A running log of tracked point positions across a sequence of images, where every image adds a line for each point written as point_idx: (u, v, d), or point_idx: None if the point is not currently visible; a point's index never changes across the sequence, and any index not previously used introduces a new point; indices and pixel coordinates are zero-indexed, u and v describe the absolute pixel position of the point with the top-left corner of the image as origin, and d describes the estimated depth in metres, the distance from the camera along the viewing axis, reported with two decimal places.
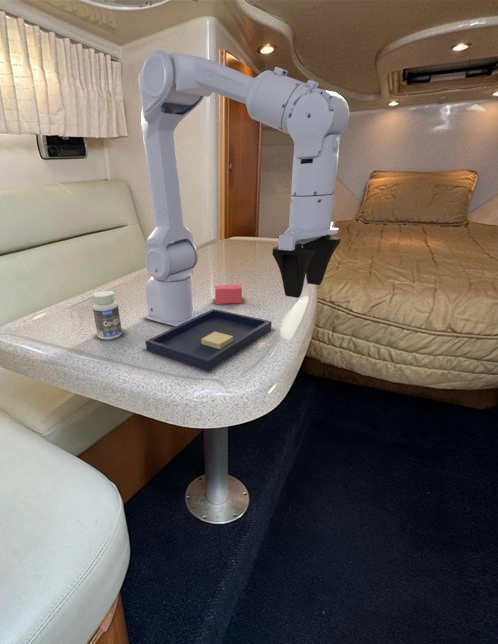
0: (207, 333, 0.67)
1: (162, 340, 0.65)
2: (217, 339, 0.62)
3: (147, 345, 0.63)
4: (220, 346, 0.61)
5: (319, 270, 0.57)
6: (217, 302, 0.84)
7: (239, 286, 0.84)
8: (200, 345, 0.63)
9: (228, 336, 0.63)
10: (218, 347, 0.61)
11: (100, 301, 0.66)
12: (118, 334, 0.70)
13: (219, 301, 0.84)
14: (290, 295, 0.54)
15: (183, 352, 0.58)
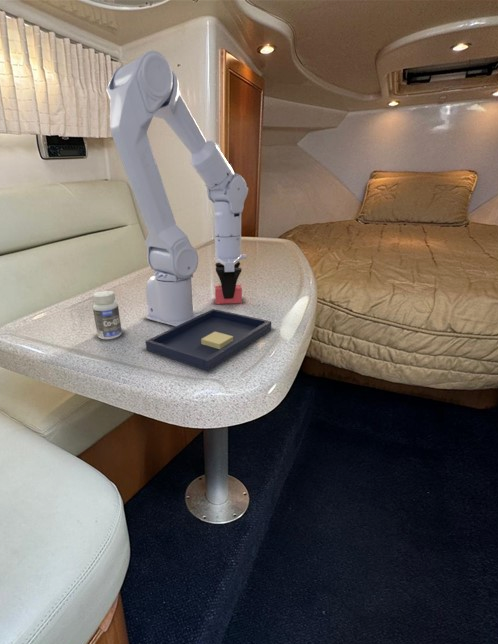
0: (207, 333, 0.67)
1: (162, 340, 0.65)
2: (217, 339, 0.62)
3: (147, 345, 0.63)
4: (220, 346, 0.61)
5: None
6: (217, 302, 0.84)
7: (239, 286, 0.84)
8: (200, 345, 0.63)
9: (228, 336, 0.63)
10: (218, 347, 0.61)
11: (100, 301, 0.66)
12: (118, 334, 0.70)
13: (219, 301, 0.84)
14: (228, 297, 0.83)
15: (183, 352, 0.58)
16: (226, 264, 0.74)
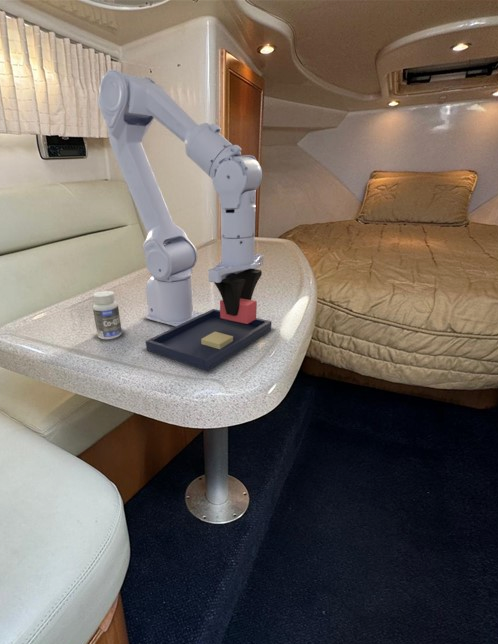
0: (207, 333, 0.67)
1: (162, 340, 0.65)
2: (217, 339, 0.62)
3: (147, 345, 0.63)
4: (220, 346, 0.61)
5: (246, 297, 0.67)
6: (221, 316, 0.69)
7: (250, 303, 0.65)
8: (200, 345, 0.63)
9: (228, 336, 0.63)
10: (218, 347, 0.61)
11: (100, 301, 0.66)
12: (118, 334, 0.70)
13: (223, 316, 0.68)
14: (230, 313, 0.66)
15: (183, 352, 0.58)
16: (210, 272, 0.59)
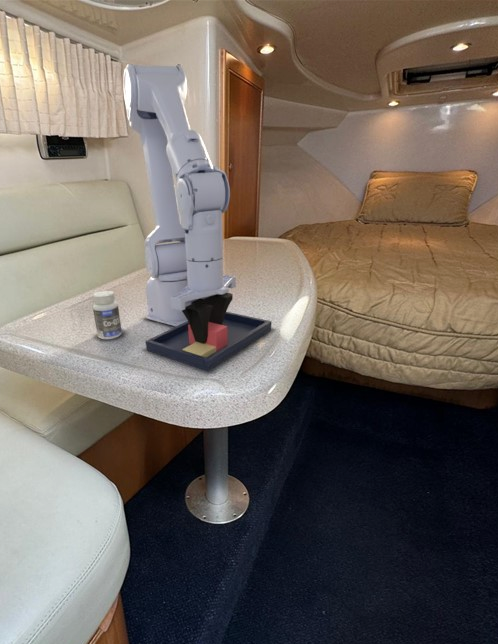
0: None
1: (162, 340, 0.65)
2: (198, 350, 0.59)
3: (147, 345, 0.63)
4: None
5: (216, 323, 0.62)
6: (190, 342, 0.63)
7: (219, 328, 0.60)
8: None
9: (211, 346, 0.60)
10: None
11: (100, 301, 0.66)
12: (118, 334, 0.70)
13: (192, 341, 0.63)
14: (198, 341, 0.61)
15: (183, 352, 0.58)
16: (172, 299, 0.54)
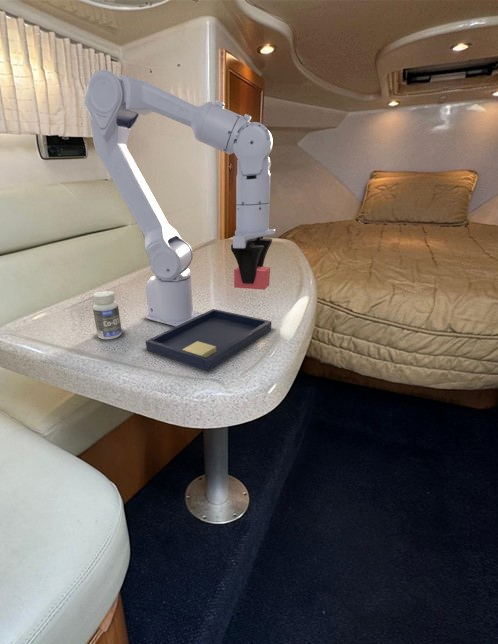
0: (207, 333, 0.67)
1: (162, 340, 0.65)
2: (198, 350, 0.59)
3: (147, 345, 0.63)
4: None
5: (258, 266, 0.69)
6: (236, 285, 0.69)
7: (265, 268, 0.67)
8: None
9: (211, 346, 0.60)
10: None
11: (100, 301, 0.66)
12: (118, 334, 0.70)
13: (238, 284, 0.69)
14: (246, 282, 0.68)
15: (183, 352, 0.58)
16: (235, 238, 0.60)
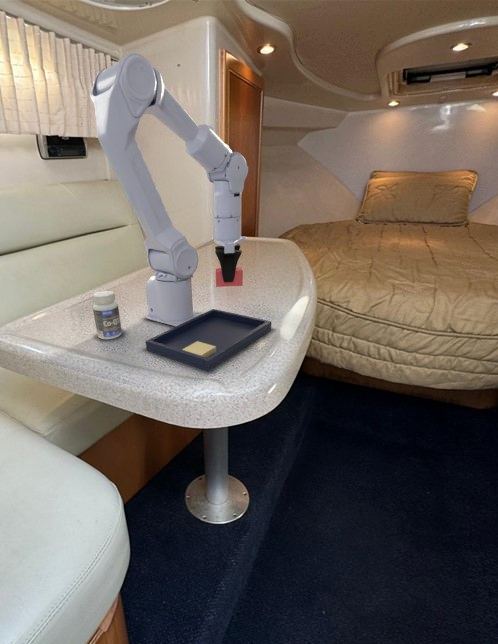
0: (207, 333, 0.67)
1: (162, 340, 0.65)
2: (198, 350, 0.59)
3: (147, 345, 0.63)
4: None
5: None
6: (217, 285, 0.82)
7: (240, 268, 0.82)
8: None
9: (211, 346, 0.60)
10: None
11: (100, 301, 0.66)
12: (118, 334, 0.70)
13: (219, 284, 0.82)
14: (227, 281, 0.81)
15: (183, 352, 0.58)
16: (226, 245, 0.73)
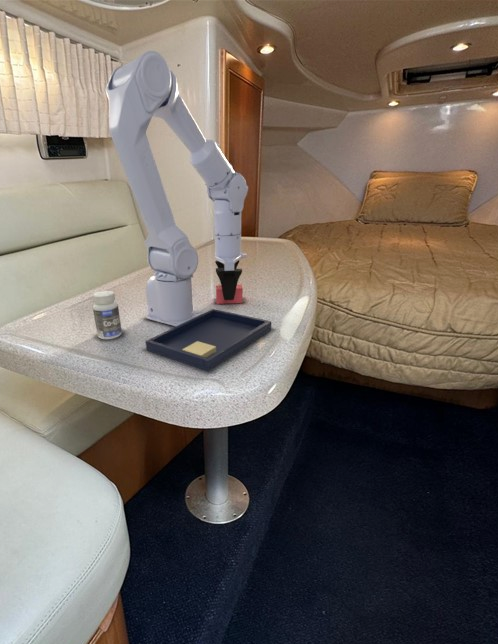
0: (207, 333, 0.67)
1: (162, 340, 0.65)
2: (198, 350, 0.59)
3: (147, 345, 0.63)
4: None
5: None
6: (218, 302, 0.84)
7: (240, 286, 0.84)
8: None
9: (211, 346, 0.60)
10: None
11: (100, 301, 0.66)
12: (118, 334, 0.70)
13: (220, 301, 0.84)
14: (228, 299, 0.81)
15: (183, 352, 0.58)
16: (226, 263, 0.74)
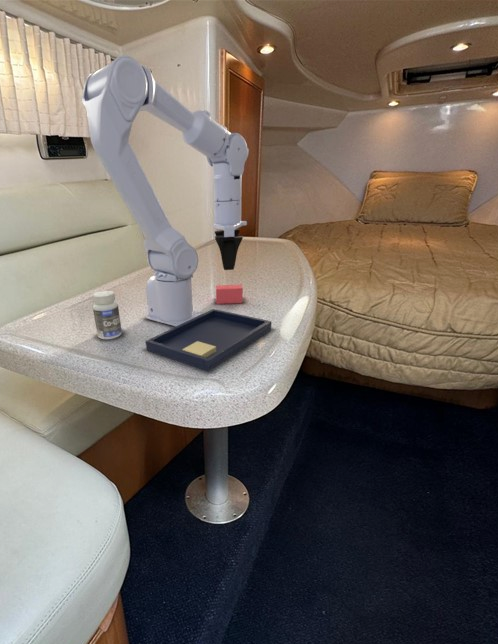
0: (207, 333, 0.67)
1: (162, 340, 0.65)
2: (198, 350, 0.59)
3: (147, 345, 0.63)
4: None
5: None
6: (218, 302, 0.84)
7: (240, 286, 0.84)
8: None
9: (211, 346, 0.60)
10: None
11: (100, 301, 0.66)
12: (118, 334, 0.70)
13: (220, 301, 0.84)
14: (228, 269, 0.78)
15: (183, 352, 0.58)
16: (226, 228, 0.71)
